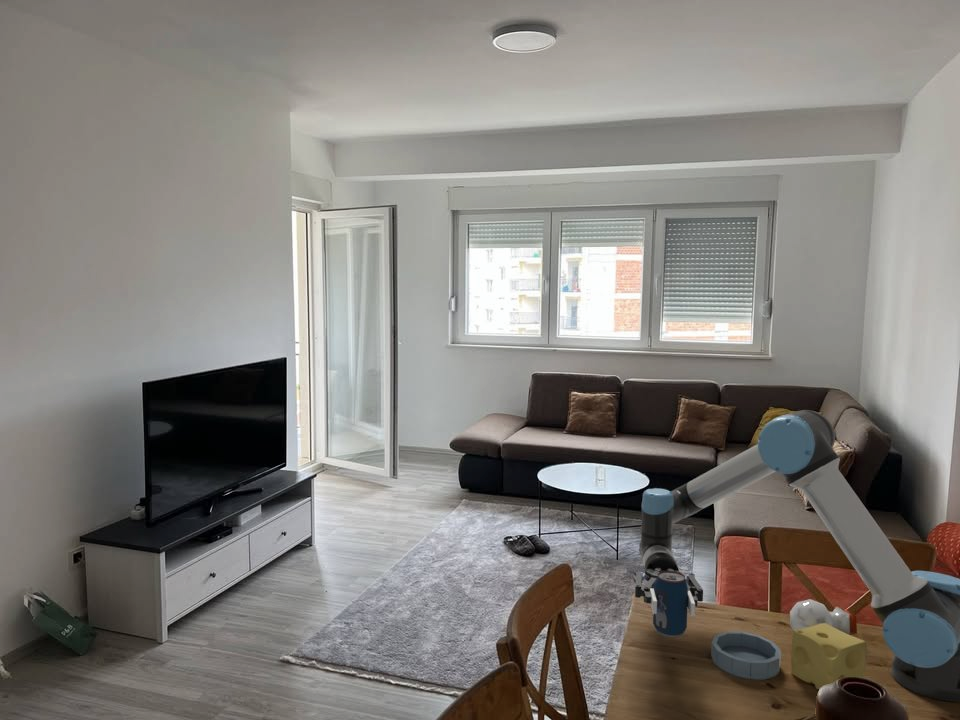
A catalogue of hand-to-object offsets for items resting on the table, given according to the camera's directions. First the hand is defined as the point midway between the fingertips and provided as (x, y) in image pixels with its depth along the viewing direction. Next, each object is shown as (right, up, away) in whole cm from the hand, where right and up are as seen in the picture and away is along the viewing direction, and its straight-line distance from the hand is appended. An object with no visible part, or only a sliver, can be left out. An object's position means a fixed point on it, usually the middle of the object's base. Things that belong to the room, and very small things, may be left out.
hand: (673, 608), depth 146 cm
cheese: (+34, -17, +5) cm, 38 cm away
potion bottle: (+41, -15, +24) cm, 50 cm away
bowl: (+19, -16, +11) cm, 27 cm away
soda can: (+1, -7, +6) cm, 9 cm away
